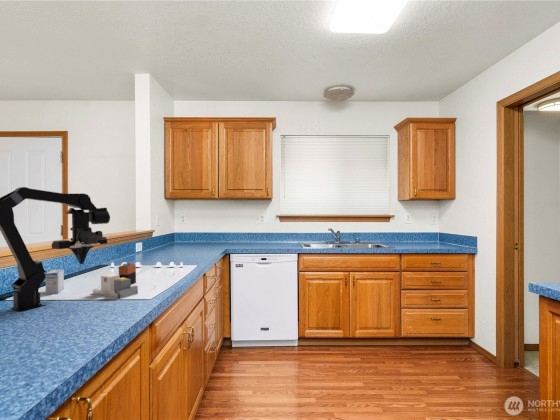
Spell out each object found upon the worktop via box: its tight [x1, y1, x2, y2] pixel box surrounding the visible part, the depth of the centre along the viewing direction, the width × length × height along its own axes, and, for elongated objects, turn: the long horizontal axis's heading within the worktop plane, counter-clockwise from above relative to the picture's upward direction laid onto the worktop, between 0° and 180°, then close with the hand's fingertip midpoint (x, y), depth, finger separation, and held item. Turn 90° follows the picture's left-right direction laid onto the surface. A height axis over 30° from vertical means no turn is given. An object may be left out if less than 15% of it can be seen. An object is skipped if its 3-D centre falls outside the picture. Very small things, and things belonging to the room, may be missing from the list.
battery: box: [118, 262, 137, 286], centre depth 139 cm, size 4×7×10 cm, turn 175°
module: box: [100, 273, 120, 293], centre depth 126 cm, size 4×6×7 cm
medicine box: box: [44, 269, 65, 295], centre depth 131 cm, size 8×4×9 cm, turn 21°
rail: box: [92, 285, 139, 300], centre depth 124 cm, size 8×17×4 cm, turn 62°
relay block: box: [114, 278, 132, 293], centre depth 122 cm, size 4×4×6 cm
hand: (81, 264), depth 125 cm, fingers closed
